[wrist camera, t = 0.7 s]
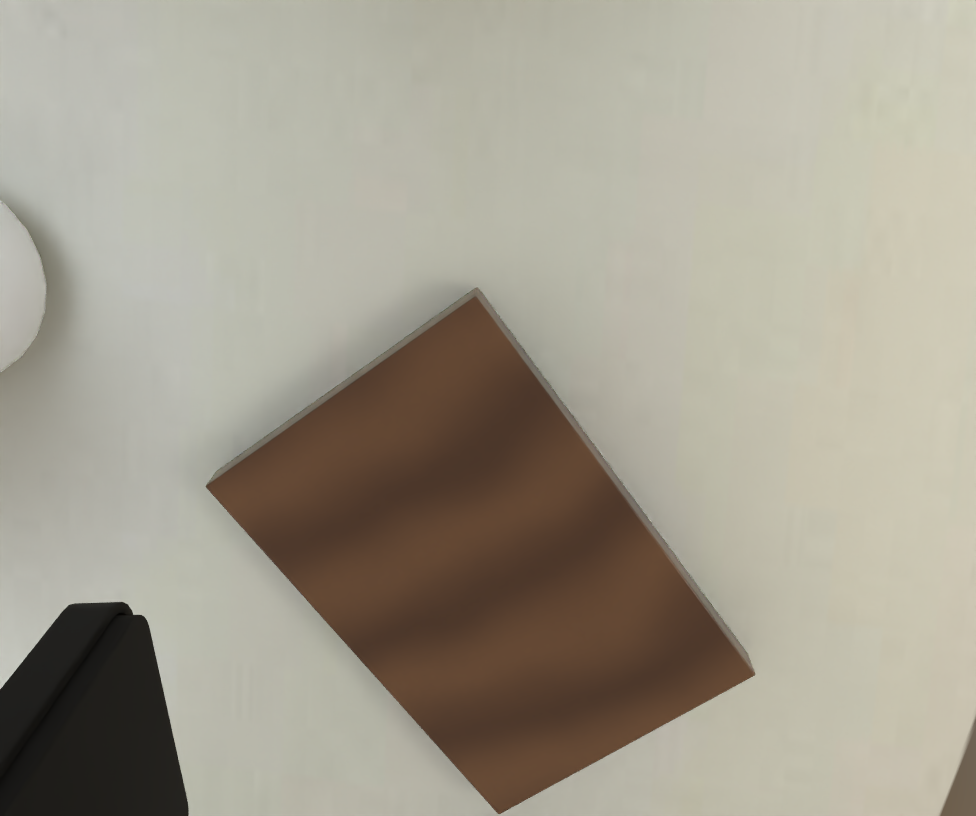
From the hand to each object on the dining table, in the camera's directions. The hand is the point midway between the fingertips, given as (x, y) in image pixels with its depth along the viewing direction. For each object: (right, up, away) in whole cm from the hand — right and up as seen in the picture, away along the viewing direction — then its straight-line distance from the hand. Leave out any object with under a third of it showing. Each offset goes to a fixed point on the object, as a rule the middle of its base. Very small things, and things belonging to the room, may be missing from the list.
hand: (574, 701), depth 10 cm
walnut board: (-1, -5, +37) cm, 38 cm away
